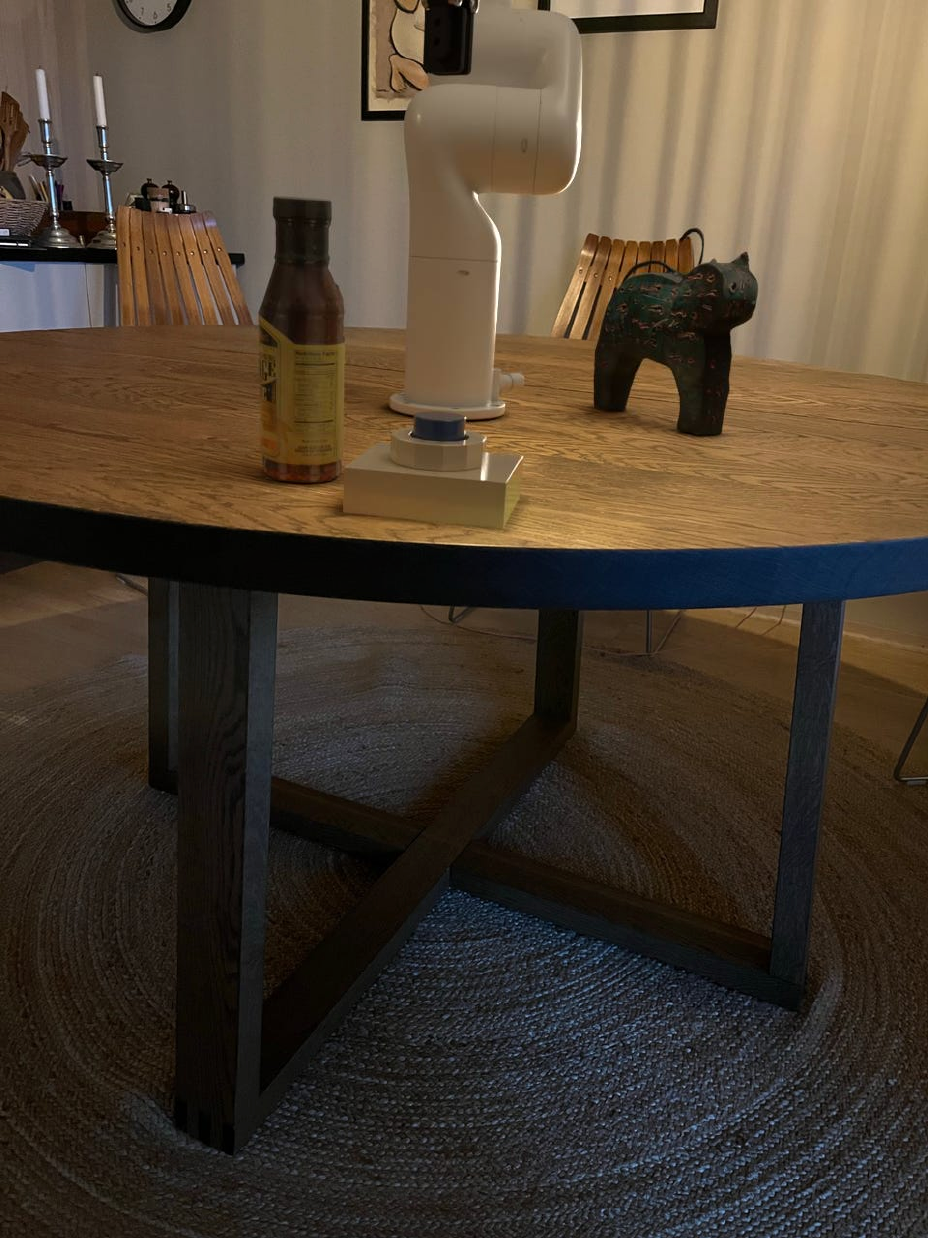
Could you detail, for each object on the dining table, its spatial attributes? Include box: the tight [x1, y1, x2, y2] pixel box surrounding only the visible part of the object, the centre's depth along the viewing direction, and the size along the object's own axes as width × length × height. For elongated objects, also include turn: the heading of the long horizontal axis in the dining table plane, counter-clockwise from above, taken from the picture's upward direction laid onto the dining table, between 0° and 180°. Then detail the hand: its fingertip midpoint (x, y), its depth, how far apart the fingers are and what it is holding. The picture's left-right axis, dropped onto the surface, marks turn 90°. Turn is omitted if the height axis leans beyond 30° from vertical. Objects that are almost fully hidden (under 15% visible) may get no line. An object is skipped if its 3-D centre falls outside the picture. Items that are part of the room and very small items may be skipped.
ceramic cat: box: [592, 227, 759, 437], centre depth 106 cm, size 20×6×20 cm, turn 32°
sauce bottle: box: [257, 195, 346, 484], centre depth 73 cm, size 6×6×20 cm
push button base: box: [342, 426, 524, 530], centre depth 70 cm, size 9×11×5 cm
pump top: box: [412, 411, 467, 442], centre depth 69 cm, size 4×4×2 cm
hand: (446, 72), depth 73 cm, fingers closed
